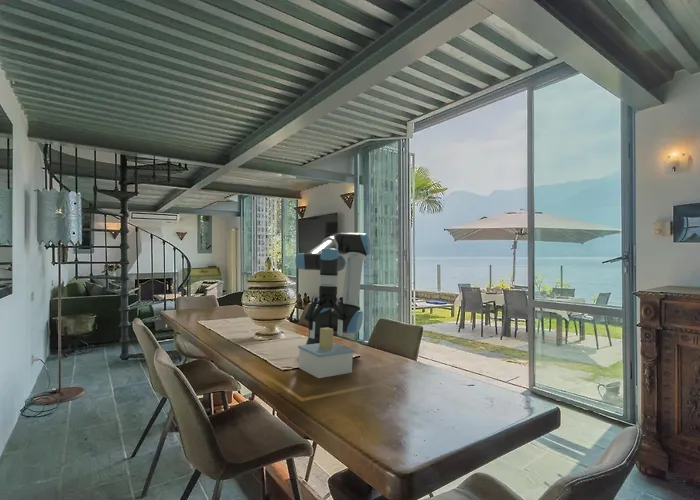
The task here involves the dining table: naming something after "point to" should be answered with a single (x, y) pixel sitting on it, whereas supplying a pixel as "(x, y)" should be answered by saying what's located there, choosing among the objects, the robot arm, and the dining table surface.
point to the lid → (325, 345)
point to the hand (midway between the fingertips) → (326, 336)
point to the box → (325, 364)
